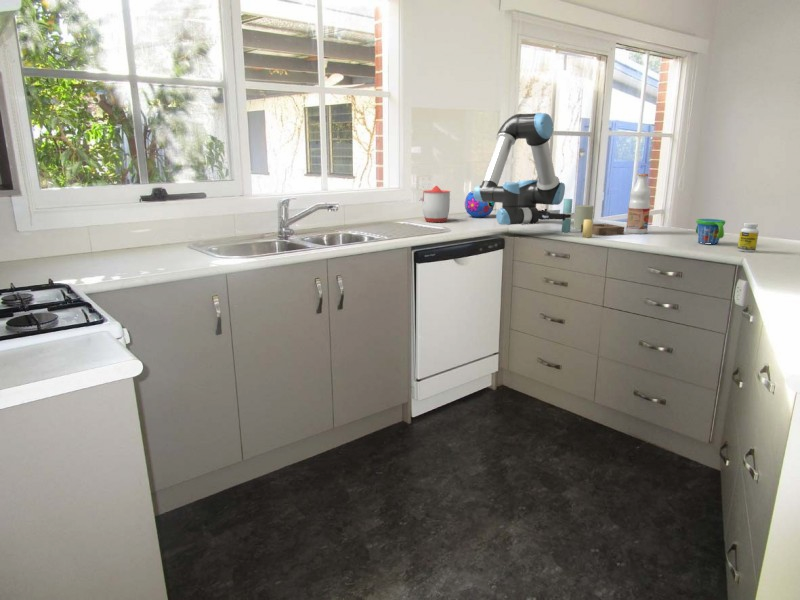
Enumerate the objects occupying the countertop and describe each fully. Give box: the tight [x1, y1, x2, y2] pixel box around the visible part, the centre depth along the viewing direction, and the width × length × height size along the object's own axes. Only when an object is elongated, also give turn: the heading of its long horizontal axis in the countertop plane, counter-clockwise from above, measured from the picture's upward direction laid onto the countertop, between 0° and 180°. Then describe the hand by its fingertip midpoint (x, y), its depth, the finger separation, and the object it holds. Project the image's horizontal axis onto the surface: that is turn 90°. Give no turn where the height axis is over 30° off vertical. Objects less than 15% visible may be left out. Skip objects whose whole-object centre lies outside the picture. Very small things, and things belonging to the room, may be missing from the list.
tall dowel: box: [561, 198, 573, 234], centre depth 272 cm, size 4×4×16 cm
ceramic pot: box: [464, 190, 496, 218], centre depth 334 cm, size 18×18×15 cm
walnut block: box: [580, 222, 625, 236], centre depth 271 cm, size 14×14×4 cm
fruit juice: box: [626, 173, 652, 235], centre depth 268 cm, size 9×9×28 cm
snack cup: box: [695, 218, 726, 245], centre depth 239 cm, size 16×10×10 cm
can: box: [573, 204, 595, 230], centre depth 286 cm, size 9×9×12 cm
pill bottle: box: [737, 222, 760, 253], centre depth 221 cm, size 6×6×11 cm
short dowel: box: [581, 219, 594, 239], centre depth 257 cm, size 4×4×8 cm
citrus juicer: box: [419, 185, 451, 223], centre depth 313 cm, size 16×17×20 cm
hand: (567, 214), depth 271 cm, fingers open, 13 cm apart
